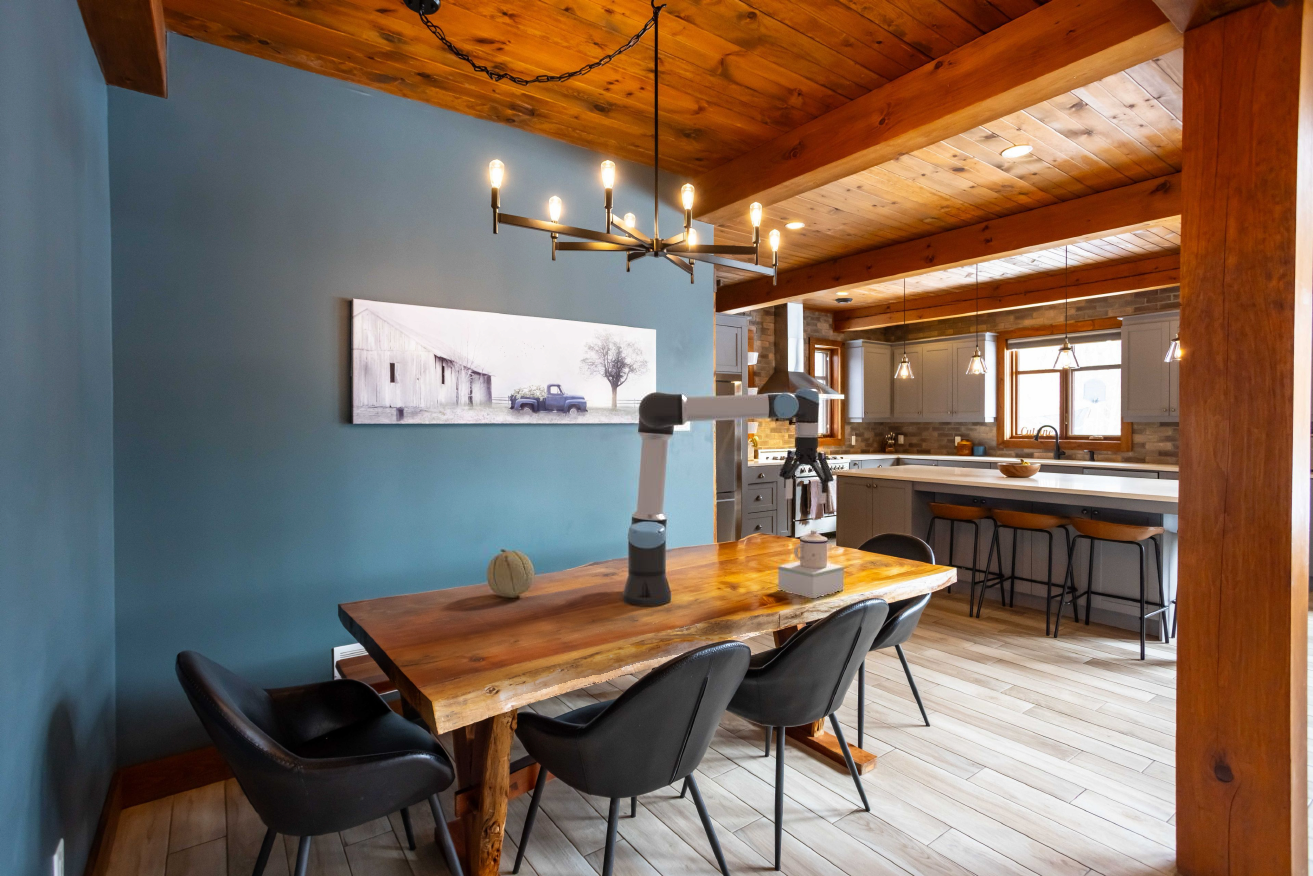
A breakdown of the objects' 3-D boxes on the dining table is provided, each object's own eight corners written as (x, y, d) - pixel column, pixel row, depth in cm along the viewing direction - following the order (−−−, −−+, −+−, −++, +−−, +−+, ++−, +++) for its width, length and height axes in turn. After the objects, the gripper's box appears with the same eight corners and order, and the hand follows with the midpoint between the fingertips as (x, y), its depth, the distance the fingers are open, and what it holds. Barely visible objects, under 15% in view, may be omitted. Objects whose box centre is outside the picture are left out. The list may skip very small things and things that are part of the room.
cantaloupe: (529, 603, 202) (529, 554, 201) (481, 603, 202) (481, 554, 201) (538, 590, 217) (538, 545, 216) (493, 590, 216) (492, 544, 216)
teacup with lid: (815, 561, 224) (816, 527, 224) (833, 567, 216) (833, 531, 216) (786, 564, 219) (786, 529, 219) (803, 570, 211) (803, 534, 211)
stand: (777, 590, 218) (778, 565, 218) (808, 582, 228) (808, 559, 228) (813, 599, 207) (813, 573, 207) (843, 590, 217) (844, 566, 217)
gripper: (845, 437, 210) (844, 504, 211) (784, 435, 229) (783, 496, 230) (831, 437, 205) (829, 506, 206) (769, 435, 225) (768, 497, 225)
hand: (805, 501), depth 218 cm, fingers open, 13 cm apart
